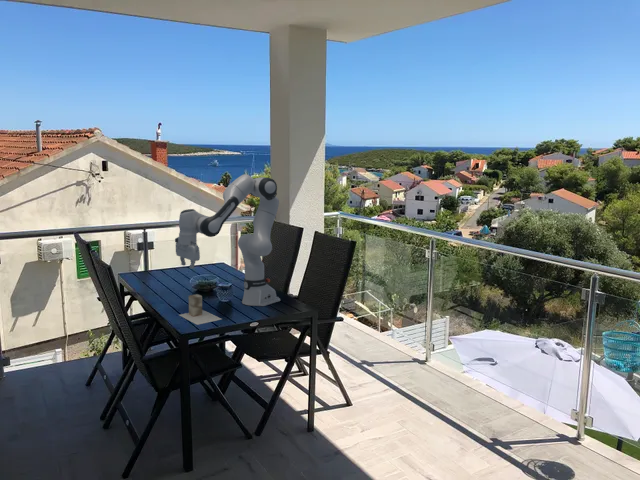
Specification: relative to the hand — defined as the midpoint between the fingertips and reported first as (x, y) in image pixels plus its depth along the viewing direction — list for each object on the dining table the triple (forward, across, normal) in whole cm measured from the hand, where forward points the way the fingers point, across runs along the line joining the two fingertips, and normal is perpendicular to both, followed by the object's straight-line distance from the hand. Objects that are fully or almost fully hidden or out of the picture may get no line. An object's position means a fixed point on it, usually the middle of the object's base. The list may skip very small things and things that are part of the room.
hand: (187, 266), depth 249 cm
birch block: (+24, -8, -1) cm, 25 cm away
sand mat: (+24, -13, -1) cm, 28 cm away
